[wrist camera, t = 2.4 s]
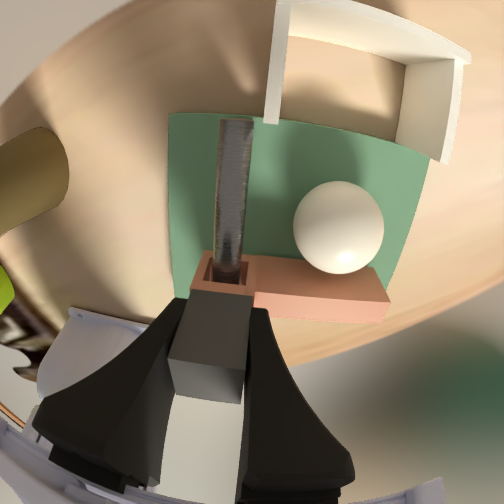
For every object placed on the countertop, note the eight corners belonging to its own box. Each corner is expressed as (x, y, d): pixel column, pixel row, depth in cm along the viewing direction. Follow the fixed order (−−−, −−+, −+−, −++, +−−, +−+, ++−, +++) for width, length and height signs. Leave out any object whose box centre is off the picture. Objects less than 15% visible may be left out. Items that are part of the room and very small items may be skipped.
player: (207, 278, 15) (173, 394, 9) (207, 240, 14) (164, 357, 8) (363, 293, 15) (399, 402, 9) (376, 259, 14) (428, 369, 8)
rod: (220, 305, 17) (211, 347, 14) (230, 115, 11) (217, 119, 8) (239, 307, 17) (233, 350, 14) (257, 117, 11) (253, 122, 8)
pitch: (179, 287, 18) (175, 299, 17) (177, 112, 12) (169, 113, 11) (368, 306, 18) (372, 318, 17) (419, 150, 12) (430, 154, 11)
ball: (284, 240, 14) (288, 288, 11) (296, 164, 12) (307, 192, 9) (356, 249, 14) (379, 296, 11) (375, 178, 12) (411, 210, 9)
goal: (264, 116, 12) (262, 123, 8) (274, 24, 10) (277, -14, 5) (402, 144, 12) (455, 169, 8) (414, 60, 10) (471, 53, 5)
